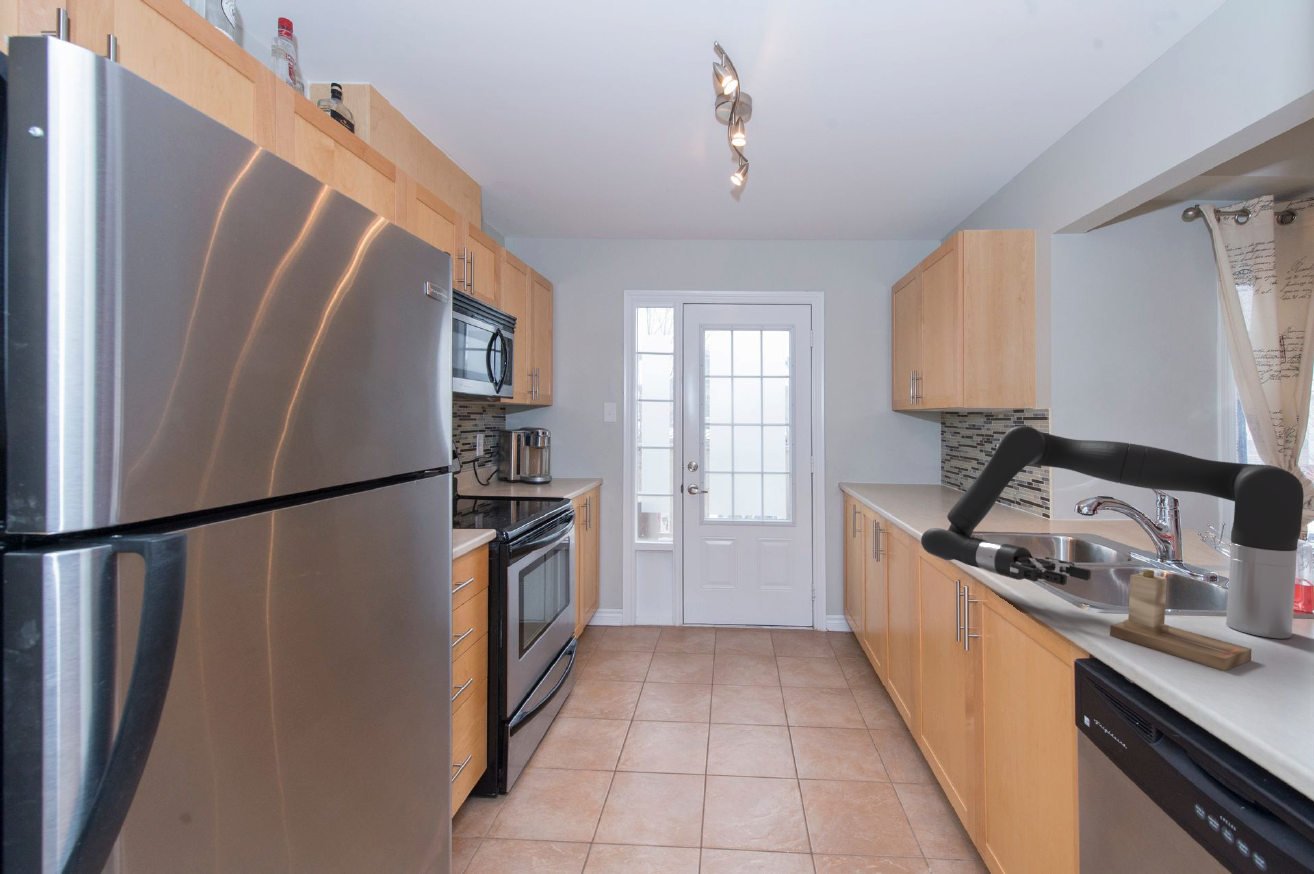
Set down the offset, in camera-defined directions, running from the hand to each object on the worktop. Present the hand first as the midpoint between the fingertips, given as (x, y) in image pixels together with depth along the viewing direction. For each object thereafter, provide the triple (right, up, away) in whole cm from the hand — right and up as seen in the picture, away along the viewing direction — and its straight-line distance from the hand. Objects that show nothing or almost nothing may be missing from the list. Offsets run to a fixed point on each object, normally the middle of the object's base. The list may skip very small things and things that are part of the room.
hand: (1078, 577), depth 123 cm
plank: (+8, -9, -14) cm, 19 cm away
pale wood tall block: (+5, -7, -11) cm, 14 cm away
